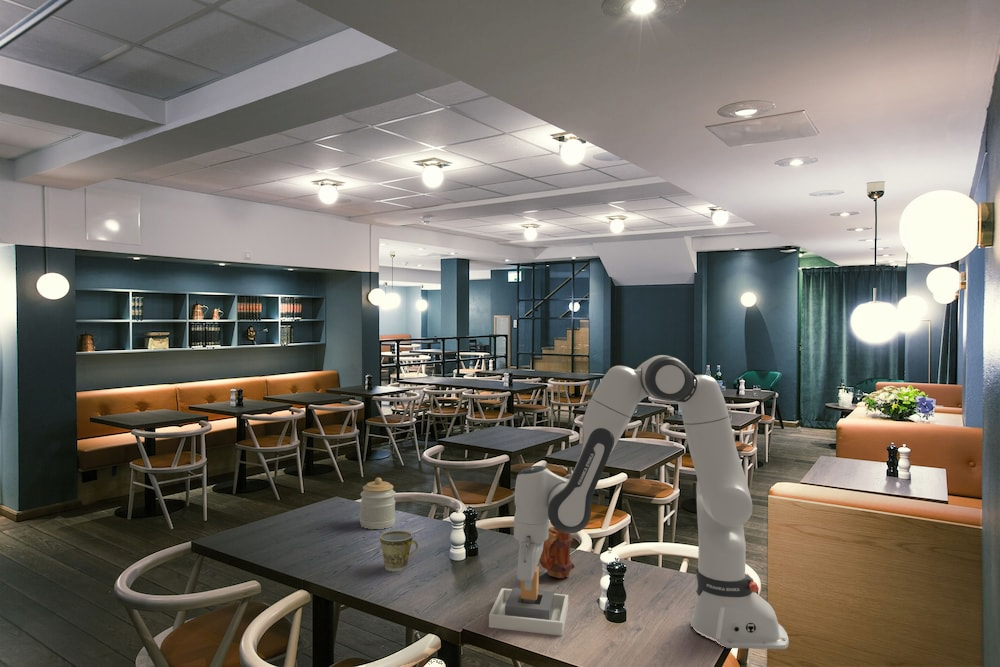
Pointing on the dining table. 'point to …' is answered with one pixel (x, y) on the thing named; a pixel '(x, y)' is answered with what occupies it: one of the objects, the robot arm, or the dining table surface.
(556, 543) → the mug
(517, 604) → the socket block
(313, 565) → the dining table surface
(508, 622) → the walled box
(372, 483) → the jar
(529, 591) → the plug
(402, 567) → the ceramic cup
